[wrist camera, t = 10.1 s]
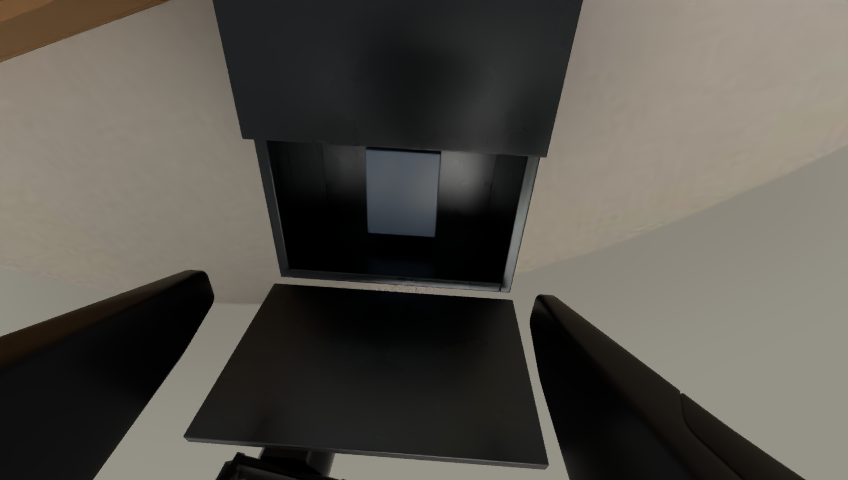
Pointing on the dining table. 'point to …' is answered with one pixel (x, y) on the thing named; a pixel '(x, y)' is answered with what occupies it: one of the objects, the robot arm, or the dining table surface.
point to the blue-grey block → (402, 190)
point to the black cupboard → (398, 125)
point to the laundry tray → (56, 20)
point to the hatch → (378, 379)
